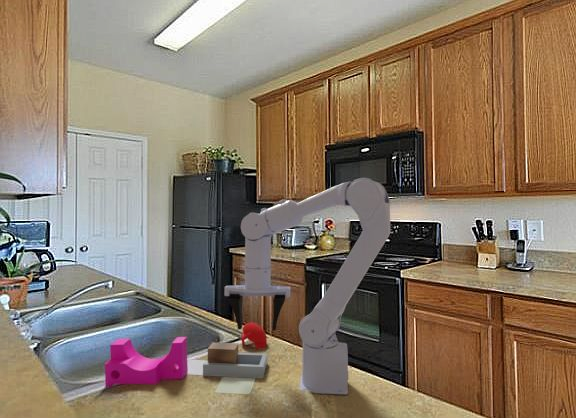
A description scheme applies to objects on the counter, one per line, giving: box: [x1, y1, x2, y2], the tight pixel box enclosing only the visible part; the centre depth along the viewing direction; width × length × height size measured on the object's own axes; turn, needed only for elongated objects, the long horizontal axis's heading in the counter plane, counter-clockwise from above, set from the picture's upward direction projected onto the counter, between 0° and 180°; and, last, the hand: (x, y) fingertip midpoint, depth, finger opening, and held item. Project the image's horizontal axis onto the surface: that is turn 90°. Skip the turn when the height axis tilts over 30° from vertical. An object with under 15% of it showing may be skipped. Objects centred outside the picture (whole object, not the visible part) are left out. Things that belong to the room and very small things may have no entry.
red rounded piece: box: [240, 322, 268, 350], centre depth 102 cm, size 8×6×6 cm
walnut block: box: [207, 341, 239, 364], centre depth 86 cm, size 6×4×5 cm, turn 86°
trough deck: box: [185, 352, 268, 379], centre depth 86 cm, size 19×8×3 cm, turn 86°
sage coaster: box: [214, 376, 256, 395], centre depth 78 cm, size 7×7×1 cm
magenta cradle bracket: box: [104, 336, 188, 387], centre depth 81 cm, size 15×6×8 cm, turn 89°
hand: (257, 328), depth 86 cm, fingers open, 7 cm apart
